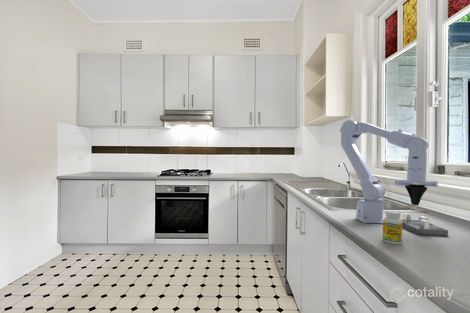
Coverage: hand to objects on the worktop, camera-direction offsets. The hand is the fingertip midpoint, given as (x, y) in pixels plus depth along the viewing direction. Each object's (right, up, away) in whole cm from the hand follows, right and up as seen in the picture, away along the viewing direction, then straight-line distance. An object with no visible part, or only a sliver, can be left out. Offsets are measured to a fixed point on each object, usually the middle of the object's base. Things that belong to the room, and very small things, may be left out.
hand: (415, 204), depth 96 cm
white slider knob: (+3, -7, 0) cm, 8 cm away
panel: (+2, -9, 0) cm, 10 cm away
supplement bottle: (-17, -9, -14) cm, 24 cm away
